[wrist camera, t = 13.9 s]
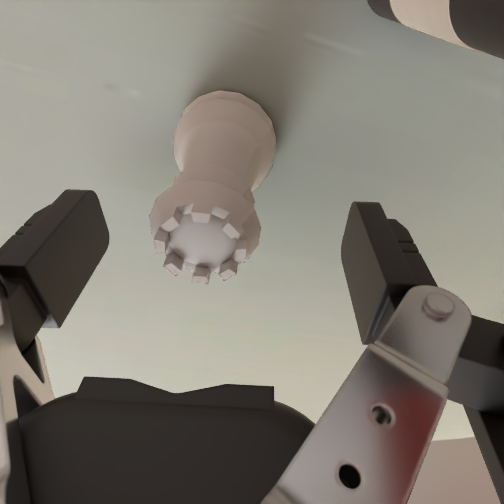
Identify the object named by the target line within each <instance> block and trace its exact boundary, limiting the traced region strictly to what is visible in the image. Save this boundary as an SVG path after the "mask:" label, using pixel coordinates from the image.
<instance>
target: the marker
mask: <svg viewBox="0 0 504 504" xmlns="http://www.w3.org/2000/svg"><path fill="white" fill-rule="evenodd" d="M368 3H369V5H370V7H371V8H372V10H373V11H374V12H375V13H376V14H378V15H380V16H382V17H384V18H387V19H390V20H393V21H396V22H399V23H402V24H403V25H405V26H407V27H409V28H412V29H415V30H417V31H420V32H423V33H426V34H429V35H431V36H434V37H437V38H440V39H443V40H445V41H448V42H451V43H454V44H456V45H459V46H462V47H465V48H468V49H470V50H474V51H478V52H485V53H488V54H490V55H493V56H496V57H499V58H502V59H504V0H368Z"/></svg>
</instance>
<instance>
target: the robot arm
mask: <svg viewBox="0 0 504 504" xmlns="http://www.w3.org/2000/svg"><path fill="white" fill-rule="evenodd" d="M413 242H414V241H413V239H412V237H411V235H410V233H409V232H408V230H407V229H406V228H405V227H404V226H403V225H401V224H400V223H399V222H398V221H397V220H395V219H387V217H386V215H385V213H384V211H383V209H382V207H381V205H380V203H378V202H355V201H354V202H353V203H352V205H351V207H350V211H349V215H348V220H347V224H346V228H345V232H344V236H343V240H342V246H341V259H342V264H343V268H344V272H345V276H346V280H347V284H348V288H349V292H350V296H351V300H352V304H353V308H354V312H355V316H356V320H357V325H358V329H359V333H360V337H361V341H362V344H363V345H368V347H367V348H366V350H365V351H364V353H363V354H362V356H361V357H360V359H359V360H358V362H357V363H356V365H355V366H354V368H353V369H352V371H351V372H350V374H349V375H348V377H347V378H346V380H345V381H344V383H343V384H342V386H341V387H340V389H339V390H338V392H337V393H336V395H335V396H334V398H333V399H332V401H331V402H330V404H329V405H328V407H327V408H326V410H325V411H324V413H323V414H322V416H321V417H320V419H319V420H318V422H317V423H316V424H315V423H313V422H312V421H311V420H310V419H308V418H307V417H306V416H305V415H303V414H302V413H300V412H298V411H297V410H295V409H293V408H291V407H289V406H287V405H285V404H283V403H280V402H277V401H274V386H255V385H236V384H225V385H219V386H214V387H209V388H204V389H199V390H194V391H189V392H184V393H171V392H168V391H165V390H162V389H159V388H156V387H153V386H150V385H147V384H144V383H141V382H138V381H135V380H132V379H121V378H102V377H84V378H83V380H82V382H81V384H80V387H79V389H78V391H77V392H75V393H71V394H68V395H64V396H61V397H59V398H56V399H55V397H54V394H53V391H52V388H51V383H50V379H49V375H48V371H47V367H46V363H45V359H44V355H43V351H42V347H41V343H40V340H39V338H38V337H37V333H38V332H39V330H40V328H41V327H42V328H60V327H61V325H62V324H63V322H64V320H65V319H66V317H67V315H68V314H69V312H70V310H71V309H72V307H73V305H74V304H75V302H76V300H77V299H78V297H79V295H80V294H81V292H82V290H83V289H84V287H85V285H86V284H87V282H88V280H89V279H90V277H91V275H92V274H93V272H94V270H95V269H96V267H97V265H98V264H99V262H100V260H101V259H102V257H103V255H104V254H105V252H106V250H107V248H108V245H109V231H108V228H107V225H106V221H105V218H104V215H103V212H102V209H101V206H100V202H99V199H98V197H97V195H96V193H95V192H94V191H92V190H70V189H68V190H65V191H64V192H63V193H62V194H61V195H60V196H59V197H58V198H57V199H56V200H55V201H54V202H53V203H52V205H51V204H50V205H49V206H47V207H45V208H43V209H41V210H40V211H38V212H36V213H34V214H33V216H32V217H31V218H30V219H29V220H28V221H27V222H26V223H25V224H24V226H22V227H21V228H20V229H19V230H18V231H17V232H16V235H13V236H12V237H11V238H10V239H9V240H8V241H7V242H6V243H5V244H4V245H3V246H2V247H1V248H0V504H407V502H408V500H409V497H410V494H411V492H412V489H413V486H414V484H415V481H416V479H417V476H418V474H419V471H420V468H421V466H422V463H423V461H424V458H425V456H426V453H427V451H428V448H429V445H430V442H431V440H432V438H433V435H434V432H435V430H436V427H437V425H438V422H439V420H440V417H441V414H442V412H443V409H444V407H445V404H446V402H447V399H448V400H451V401H454V402H457V403H460V404H463V406H464V409H465V411H466V414H467V416H468V419H469V422H470V424H471V427H472V429H473V432H474V435H475V437H476V440H477V443H478V445H479V448H480V450H481V453H482V456H483V458H484V461H485V463H486V466H487V468H488V471H489V473H490V476H491V479H492V482H493V484H494V487H495V489H496V492H497V495H498V497H499V500H500V502H501V504H504V324H501V323H498V322H494V321H491V320H487V319H484V318H480V317H477V316H474V315H471V312H470V310H469V308H468V307H467V305H466V304H465V303H464V302H463V301H462V300H461V299H460V298H459V297H457V296H456V295H454V294H453V293H451V292H449V291H447V290H445V289H442V288H439V287H438V286H437V284H436V282H435V280H434V278H433V277H432V275H431V273H430V271H429V269H428V267H427V265H426V263H425V262H424V260H423V258H422V256H421V254H420V253H419V250H418V248H417V247H416V245H415V244H414V243H413Z"/></svg>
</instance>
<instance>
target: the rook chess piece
mask: <svg viewBox="0 0 504 504" xmlns="http://www.w3.org/2000/svg"><path fill="white" fill-rule="evenodd" d="M176 129H177V130H176V132H175V135H174V155H175V160H176V163H177V165H178V167H179V169H180V171H181V173H180V174H179V175H178V176H177V177H175V179H174V181H173V184H172V186H171V187H170V188H169V189H167V190H166V191H165V192H164V193H162V194H161V195H160V196H159V197H157V198H156V201H155V203H154V205H153V208H152V210H151V213H150V215H149V217H150V227H151V234H152V235H153V237H154V246H155V253H165V254H166V256H167V257H166V260H165V262H164V265H163V267H165V268H166V269H167V270H168V271H170V272H171V273H172V274H174V275H175V276H177V275H178V274H179V273H180V272H181V270H182V267H183V268H186V269H188V270H191V271H193V272H194V274H193V279H192V283H202V284H208V282H209V277H210V273H216V272H219V276H220V277H221V278H222V280H223V281H225V280H227V279H229V278H230V277H232V276H234V275H236V274H237V265H238V264H240V263H242V262H244V263H245V260H247V259H248V258H249V257H250V255H251V254H252V253H253V251H254V250H255V249H256V247H257V246H258V243H259V237H260V231H261V226H260V223H259V220H258V217H257V214H256V211H255V209H254V202H255V201H254V198H253V195H252V191H253V190H254V189H256V188H257V187H259V186H260V185H261V184H262V182H263V181H264V179H265V178H266V176H267V175H268V173H269V171H270V170H271V168H272V165H273V159H274V153H275V146H276V137H275V133H274V129H273V125H272V121H271V120H270V118H269V117H268V116H267V114H266V113H265V112H264V110H263V109H262V108H261V106H260V105H259V104H258V103H256V102H254V101H253V100H251V99H249V98H248V97H246V96H244V95H243V94H241V93H236V92H228V91H220V90H218V91H215V92H212V93H208V94H205V95H202V96H199V97H198V98H197V99H195V100H194V101H193V102H192V103H191V104H190V105H189V106H188V107H187V108H186V109H185V110H184V111H183V114H182V116H181V119H180V121H179V123H178V126H177V128H176Z"/></svg>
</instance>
